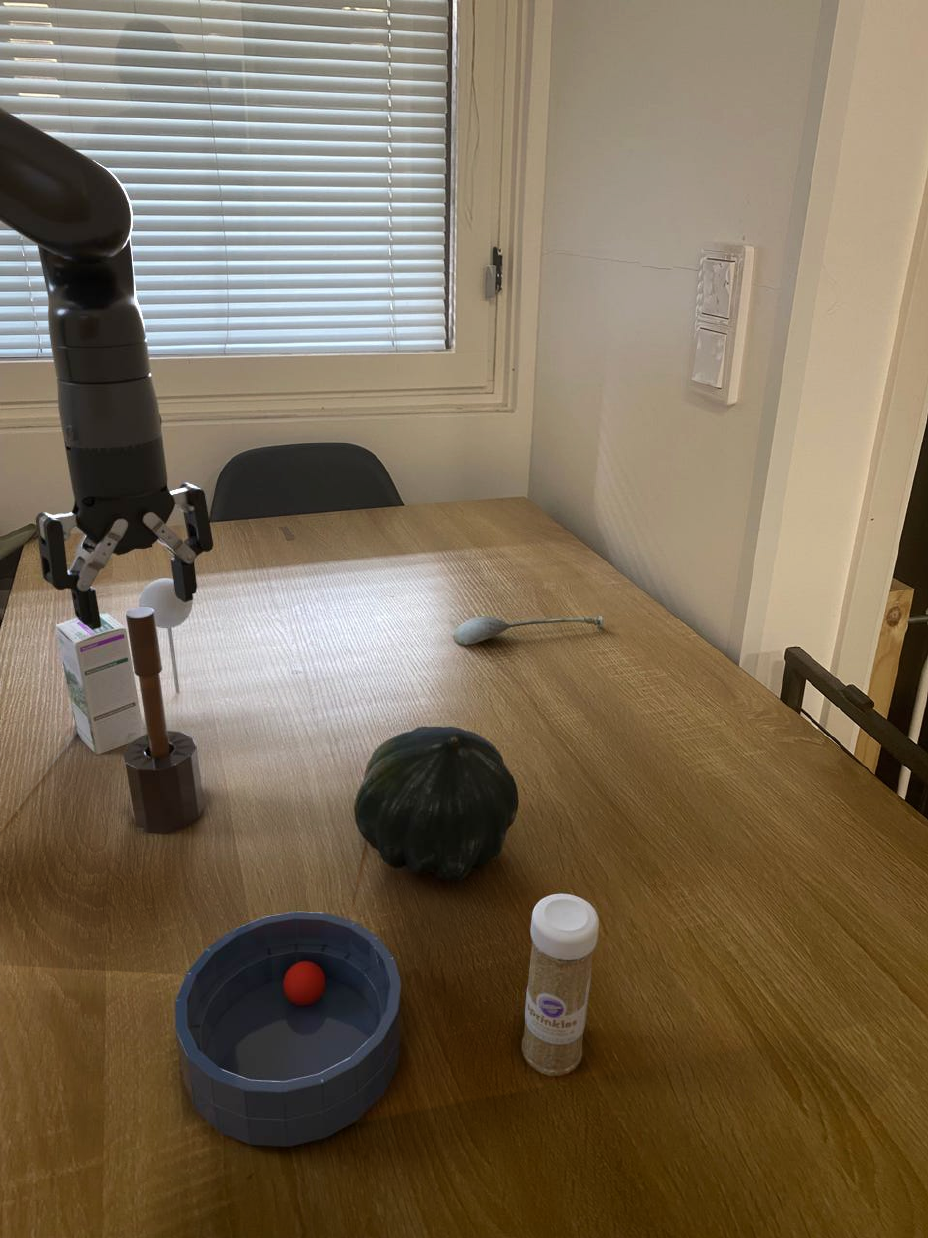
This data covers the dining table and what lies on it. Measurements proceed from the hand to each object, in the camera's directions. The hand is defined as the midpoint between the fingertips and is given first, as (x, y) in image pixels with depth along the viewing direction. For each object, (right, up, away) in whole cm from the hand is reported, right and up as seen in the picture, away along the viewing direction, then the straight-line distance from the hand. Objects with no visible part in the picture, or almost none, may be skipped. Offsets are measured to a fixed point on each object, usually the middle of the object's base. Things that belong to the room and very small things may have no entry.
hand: (139, 612), depth 81 cm
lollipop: (-7, -10, +32) cm, 34 cm away
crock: (-1, -20, +10) cm, 23 cm away
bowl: (+16, -32, -14) cm, 39 cm away
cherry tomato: (+17, -29, -11) cm, 35 cm away
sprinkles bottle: (+35, -33, -13) cm, 50 cm away
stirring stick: (-1, -20, +10) cm, 22 cm away
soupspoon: (+38, -3, +49) cm, 62 cm away
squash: (+26, -23, +7) cm, 35 cm away
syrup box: (-11, -14, +22) cm, 29 cm away
